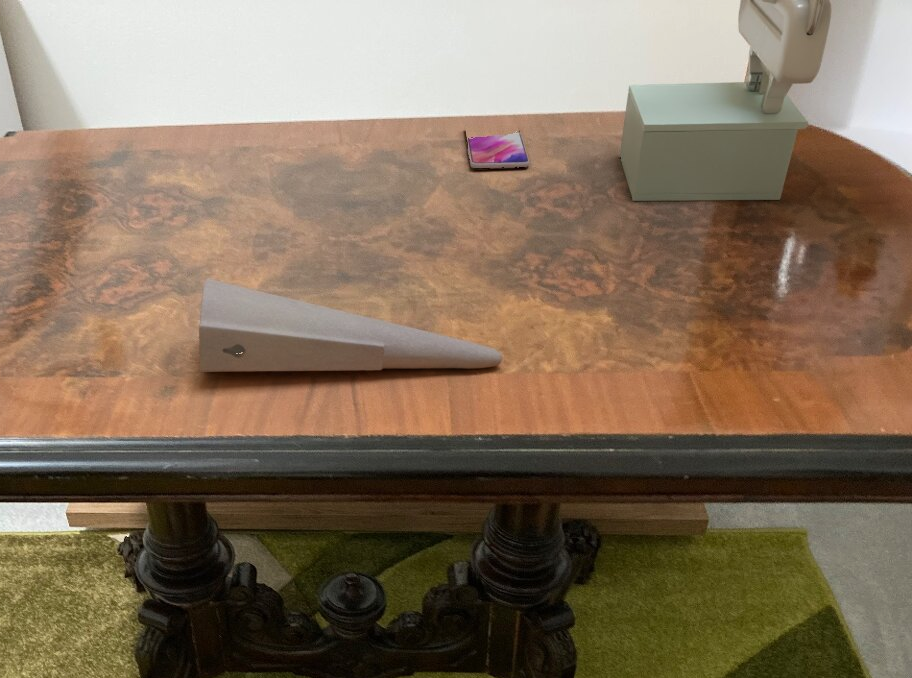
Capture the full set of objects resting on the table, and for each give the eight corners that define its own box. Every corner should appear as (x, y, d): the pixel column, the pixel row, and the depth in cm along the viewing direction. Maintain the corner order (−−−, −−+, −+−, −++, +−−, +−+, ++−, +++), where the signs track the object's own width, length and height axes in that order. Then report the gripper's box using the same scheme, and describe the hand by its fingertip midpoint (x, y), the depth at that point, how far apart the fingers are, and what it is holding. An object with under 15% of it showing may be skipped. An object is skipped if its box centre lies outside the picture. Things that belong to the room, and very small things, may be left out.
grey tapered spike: (496, 277, 83) (208, 262, 82) (511, 325, 76) (198, 308, 75) (482, 351, 87) (210, 337, 87) (495, 402, 81) (200, 388, 80)
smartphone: (517, 120, 124) (530, 162, 112) (517, 127, 125) (529, 169, 113) (463, 122, 125) (470, 163, 113) (463, 128, 125) (470, 170, 113)
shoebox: (752, 154, 112) (767, 88, 107) (780, 200, 101) (798, 129, 96) (619, 156, 114) (628, 92, 109) (632, 201, 104) (643, 132, 99)
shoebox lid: (774, 88, 107) (785, 43, 104) (806, 129, 96) (818, 81, 93) (628, 91, 109) (634, 48, 106) (643, 131, 99) (650, 85, 96)
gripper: (861, -16, 84) (818, 134, 93) (803, -60, 100) (770, 71, 109) (788, -14, 85) (752, 134, 94) (741, -58, 101) (714, 72, 110)
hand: (761, 100), depth 102 cm, fingers closed on shoebox lid, 6 cm apart
